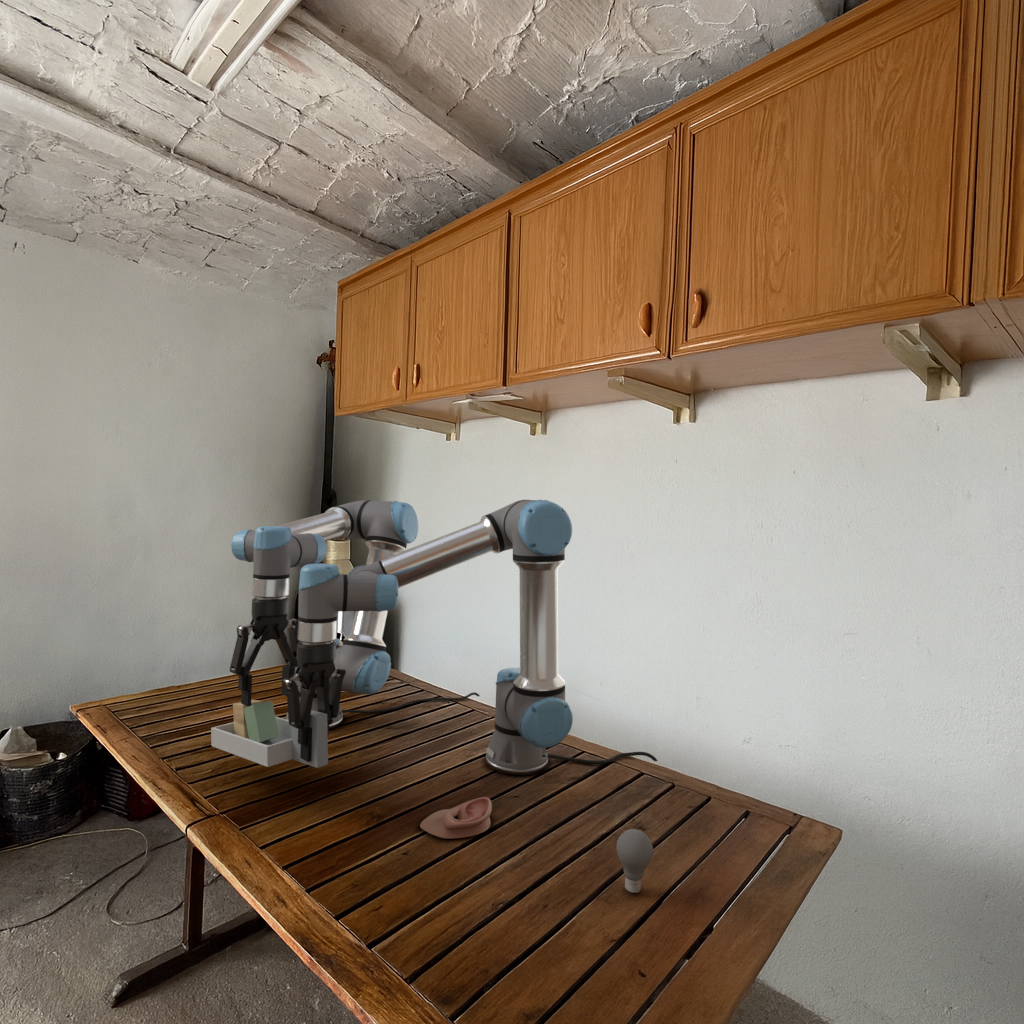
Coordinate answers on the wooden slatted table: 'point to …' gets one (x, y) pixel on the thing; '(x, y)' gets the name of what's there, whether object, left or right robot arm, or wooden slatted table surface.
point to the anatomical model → (460, 820)
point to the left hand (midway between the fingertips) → (266, 699)
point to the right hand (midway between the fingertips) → (312, 756)
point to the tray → (276, 743)
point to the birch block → (241, 719)
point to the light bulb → (634, 857)
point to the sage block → (261, 721)
